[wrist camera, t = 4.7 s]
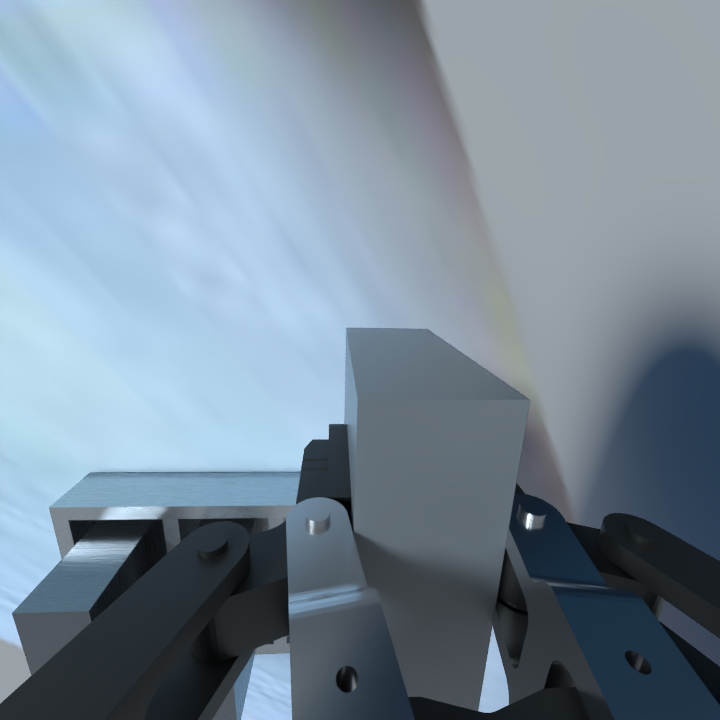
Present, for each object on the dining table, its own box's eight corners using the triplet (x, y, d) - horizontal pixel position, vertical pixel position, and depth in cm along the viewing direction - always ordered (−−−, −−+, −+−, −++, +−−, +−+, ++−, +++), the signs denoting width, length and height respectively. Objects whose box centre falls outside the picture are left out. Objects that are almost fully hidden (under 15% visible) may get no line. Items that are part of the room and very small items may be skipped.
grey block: (346, 327, 13) (357, 399, 6) (427, 329, 13) (530, 399, 6) (342, 514, 15) (348, 727, 8) (412, 513, 15) (476, 719, 8)
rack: (118, 610, 24) (21, 764, 17) (90, 472, 21) (-43, 585, 14) (446, 601, 25) (489, 737, 18) (464, 471, 22) (524, 572, 15)
